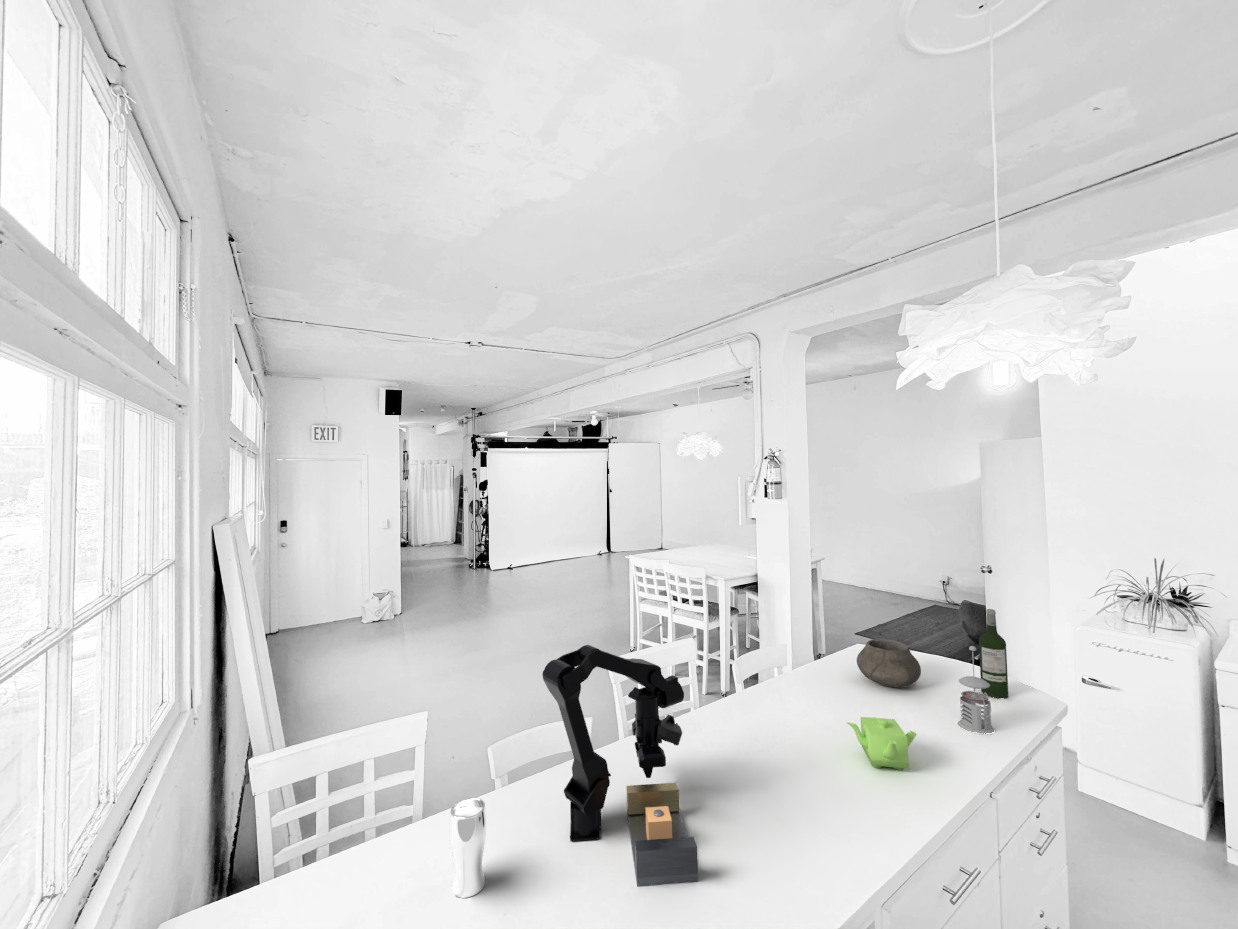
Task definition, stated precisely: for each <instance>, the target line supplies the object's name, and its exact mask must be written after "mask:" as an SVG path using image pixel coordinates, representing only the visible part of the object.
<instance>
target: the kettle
mask: <svg viewBox="0 0 1238 929" xmlns="http://www.w3.org/2000/svg"><path fill="white" fill-rule="evenodd" d="M846 724H847V725H849V726H850V727H852V729H853V731H854V732H855V735H856V739H857V742H859V744H860V745H861V747H862V749H863V751H864V753H865V755H866V757H867V759H868V761H869V763H870V765H871V766H872V767H873V768H875V769H881V768H882V767H887V768H894V769H895V770H897V771H903V770H904V769H907V770H908V769H909V767H910V766H909V747H910V746H911V744H912V743H913V740H914V739H915V738H916V736H917V735H918V734H917V733H916V732H915V731H912V730H909V731H908V732H907V733H905V732H904V730H903V728H901V726H900V725H899V723H898V722H897V721H896V720H895V719H894V718H882V717H866V716H863V717H862V716H860V729H859V726H858V725H857V724H856V723H854V722H850V721H849V722H846Z"/></svg>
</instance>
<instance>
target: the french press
mask: <svg viewBox="0 0 1238 929" xmlns="http://www.w3.org/2000/svg"><path fill="white" fill-rule="evenodd" d="M968 650H969V651H972V652H971V654H972V672H973V676H972V675H966V676H963V677H960V678H959V679H958V682H959V683H960V684H961V685H963V686H965V687H968V688H971V689H972V688H973V690H965V691H962V692H961V693H960V695H961V696H960V697H959V702H960V703H959V705H961V706H960V713H961V714H960V717H961V718H960V720H959V721H958V722H957V725H958V727H959V726H960V728H961V729H962V728H963V729H962V730H964V729H965V730H964V731H966V730H967V732H969V731H971V732H970V733H972V732H977V733H983V734H984V733H985V734H986V733H992V732H994V729H995V728H994V727H993V726H992V715H991V713H992V703H991V700H990V697H989V696H988V695H987V694H986V693H984V694H983V693H982V692H977V691H976V689H977V690H979V689H980V690H981V689H986V688H988V687H989V686H990V684H989V683H988V682H986V681H985V680H983V679H981V677H977V676H975V663H974V662H975V660H974V659H975V658H974V651H975V652H976V651H977V647H976V646H974V645H970V646H969V647H968ZM985 694H986V695H987V696H986V695H985ZM977 704H978V705H977ZM981 705H982V706H981ZM983 734H982V735H983Z"/></svg>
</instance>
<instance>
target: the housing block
mask: <svg viewBox="0 0 1238 929" xmlns="http://www.w3.org/2000/svg"><path fill="white" fill-rule="evenodd" d="M646 833H647V839H648V840H653V839H667V838H672V820H671V816H670V812H669V808H668V806H661V807H646Z"/></svg>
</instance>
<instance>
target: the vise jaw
mask: <svg viewBox="0 0 1238 929" xmlns="http://www.w3.org/2000/svg"><path fill="white" fill-rule="evenodd" d="M661 806H668V808H669V812H673V811H679V812H680V789H679V785H678V782H663V783H651V784H649V783H648V784H635V785H633V784H631V785H626V812H627V811H628V814H643V813H646V807H661Z"/></svg>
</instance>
